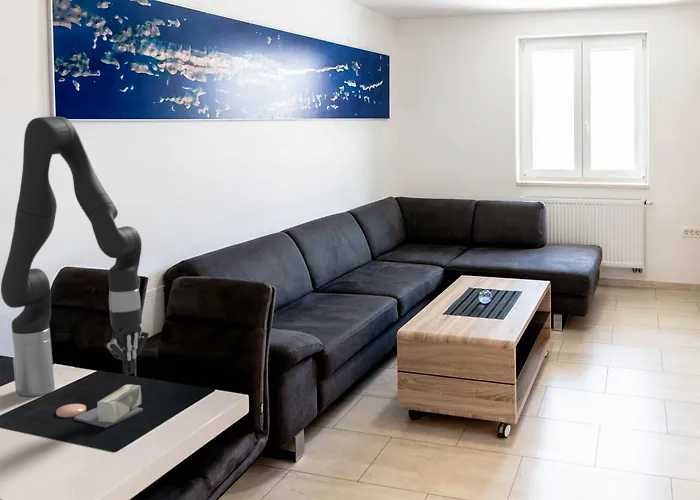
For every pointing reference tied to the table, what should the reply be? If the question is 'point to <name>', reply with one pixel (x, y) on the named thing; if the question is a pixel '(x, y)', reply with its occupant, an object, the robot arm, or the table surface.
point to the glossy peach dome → (71, 410)
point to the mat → (92, 418)
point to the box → (119, 403)
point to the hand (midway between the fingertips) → (129, 373)
